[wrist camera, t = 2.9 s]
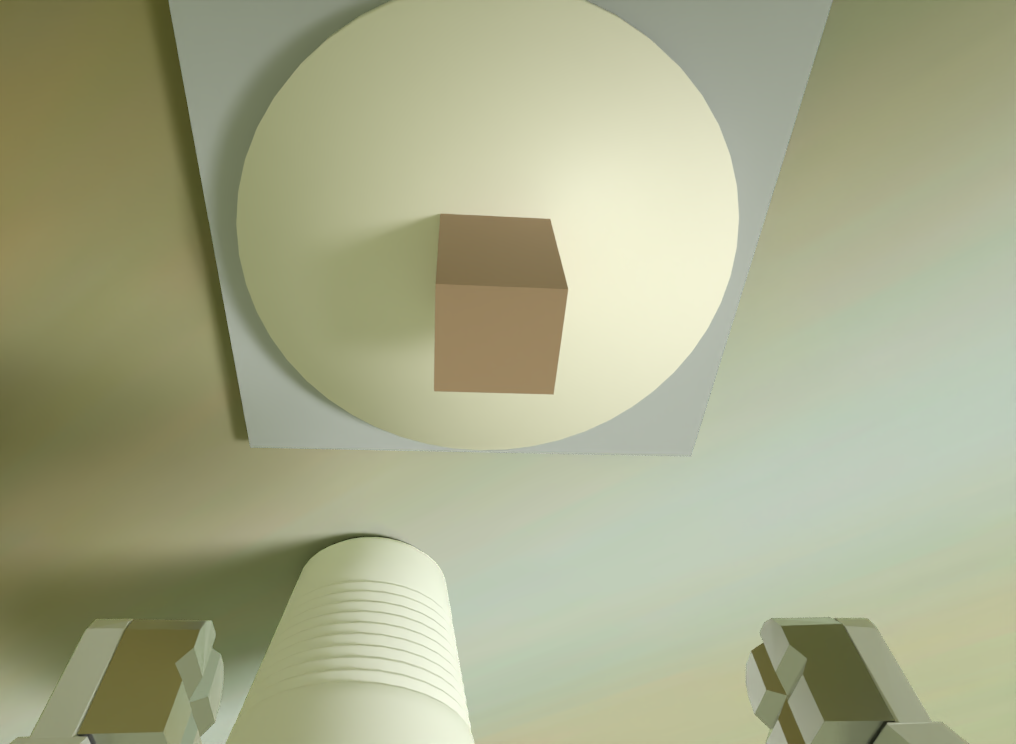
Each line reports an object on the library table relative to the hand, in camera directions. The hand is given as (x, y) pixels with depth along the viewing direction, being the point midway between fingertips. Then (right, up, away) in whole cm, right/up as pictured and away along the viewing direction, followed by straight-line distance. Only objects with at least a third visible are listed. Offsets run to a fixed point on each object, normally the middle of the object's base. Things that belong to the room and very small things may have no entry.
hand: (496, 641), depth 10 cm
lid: (0, +8, +10) cm, 13 cm away
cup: (-6, -5, +20) cm, 21 cm away
